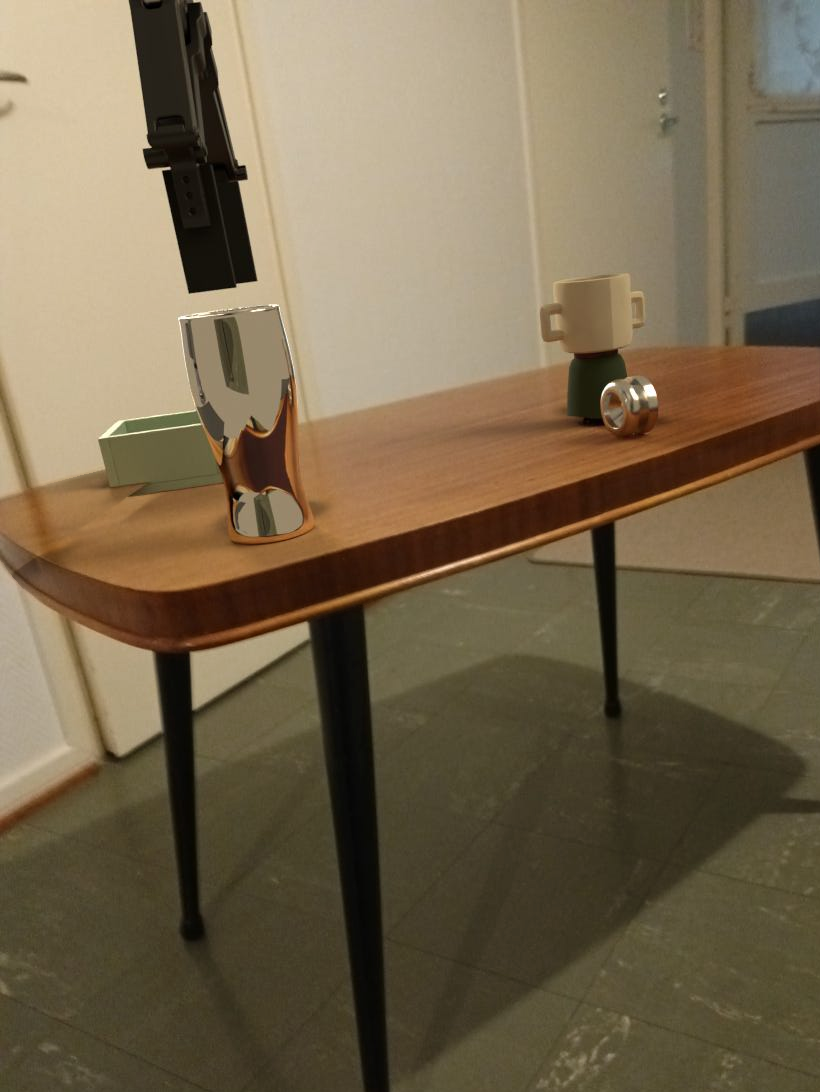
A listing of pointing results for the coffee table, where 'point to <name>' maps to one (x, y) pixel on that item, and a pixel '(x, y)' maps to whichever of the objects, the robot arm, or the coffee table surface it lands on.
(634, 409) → the metal grooved wheel
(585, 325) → the character mug
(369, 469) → the coffee table surface
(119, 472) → the green storage bin
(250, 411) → the beer glass
